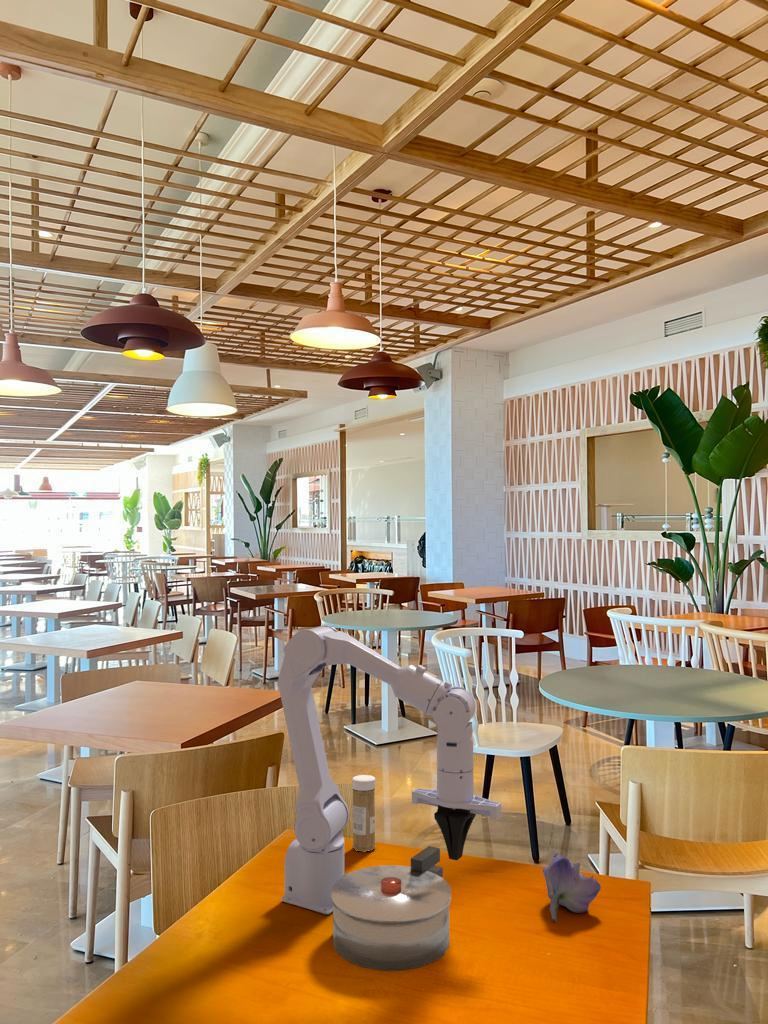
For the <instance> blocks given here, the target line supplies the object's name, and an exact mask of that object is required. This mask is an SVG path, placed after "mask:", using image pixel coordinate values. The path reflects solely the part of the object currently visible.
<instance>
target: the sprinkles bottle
mask: <svg viewBox="0 0 768 1024" xmlns="http://www.w3.org/2000/svg"><path fill="white" fill-rule="evenodd" d="M376 787H377V785H376V777H375V776H373V775H370V774H359V775H356V776H353V777H352V778H351V788H352V832H353V833H352V849H353V848H354V849H356V850H357V851H366V850H367V851H368V850H372V849H374V850H375V849H376V846H377V845H376V806H375V805H376V804H375V802H376V801H375V799H376V798H375V797H376V796H375V793H376V792H375V790H376ZM375 845H376V846H375ZM354 849H353V850H354ZM357 851H356V852H357Z"/></svg>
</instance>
